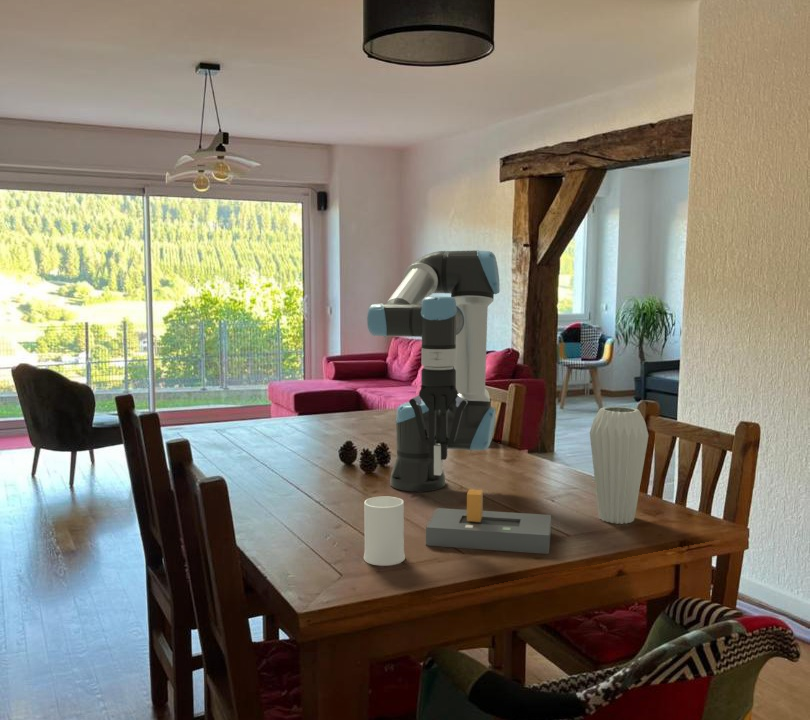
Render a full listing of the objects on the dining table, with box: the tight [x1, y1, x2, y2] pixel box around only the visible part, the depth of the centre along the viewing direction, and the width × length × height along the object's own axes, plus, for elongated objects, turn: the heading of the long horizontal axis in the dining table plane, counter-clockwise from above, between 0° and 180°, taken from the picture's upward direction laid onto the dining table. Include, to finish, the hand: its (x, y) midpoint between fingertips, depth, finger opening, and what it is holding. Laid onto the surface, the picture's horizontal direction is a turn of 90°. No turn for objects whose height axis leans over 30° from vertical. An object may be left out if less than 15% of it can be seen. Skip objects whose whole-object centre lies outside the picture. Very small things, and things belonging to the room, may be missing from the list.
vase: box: [589, 405, 650, 525], centre depth 186 cm, size 13×13×26 cm
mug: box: [363, 495, 406, 567], centre depth 163 cm, size 12×8×12 cm
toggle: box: [466, 488, 484, 522], centre depth 174 cm, size 3×4×6 cm
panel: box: [425, 507, 552, 555], centre depth 174 cm, size 26×14×4 cm, turn 78°
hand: (438, 473), depth 174 cm, fingers closed
